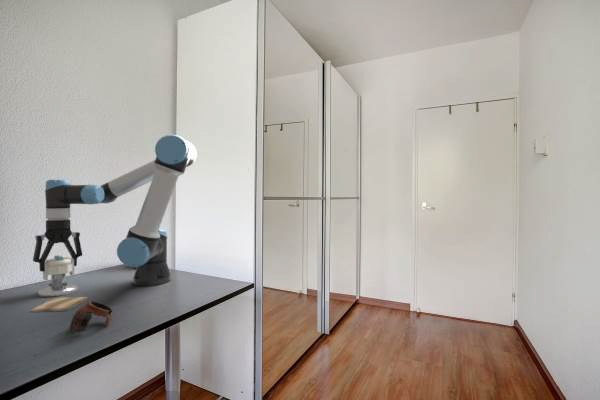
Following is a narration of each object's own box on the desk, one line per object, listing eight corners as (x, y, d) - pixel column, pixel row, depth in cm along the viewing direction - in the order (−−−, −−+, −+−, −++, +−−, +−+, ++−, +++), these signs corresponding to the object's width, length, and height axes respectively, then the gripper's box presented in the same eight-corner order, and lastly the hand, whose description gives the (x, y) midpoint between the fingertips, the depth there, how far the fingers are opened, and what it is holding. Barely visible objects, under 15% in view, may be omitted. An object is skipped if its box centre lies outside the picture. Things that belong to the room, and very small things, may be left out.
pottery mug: (75, 324, 91) (91, 298, 93) (105, 337, 92) (120, 310, 94) (53, 331, 79) (73, 301, 82) (87, 345, 80) (106, 315, 83)
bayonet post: (84, 286, 125) (83, 263, 125) (65, 296, 113) (65, 270, 113) (52, 287, 124) (52, 263, 123) (30, 297, 112) (30, 271, 111)
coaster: (87, 298, 111) (87, 296, 111) (68, 310, 100) (68, 307, 100) (54, 300, 110) (54, 297, 110) (31, 311, 99) (31, 309, 99)
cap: (74, 271, 119) (74, 256, 119) (49, 275, 113) (49, 259, 113) (67, 268, 124) (67, 253, 124) (43, 272, 117) (42, 256, 117)
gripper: (84, 217, 128) (85, 270, 129) (20, 220, 112) (21, 281, 112) (92, 217, 124) (92, 272, 125) (26, 221, 107) (27, 285, 108)
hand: (59, 276), depth 118 cm, fingers closed on cap, 8 cm apart
